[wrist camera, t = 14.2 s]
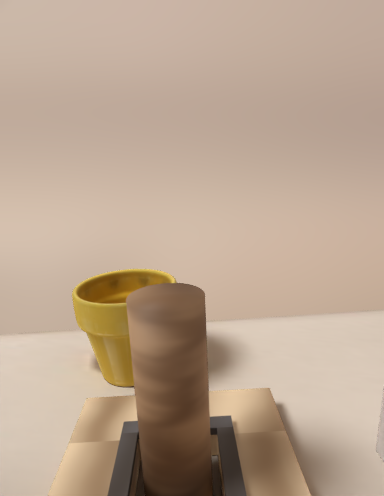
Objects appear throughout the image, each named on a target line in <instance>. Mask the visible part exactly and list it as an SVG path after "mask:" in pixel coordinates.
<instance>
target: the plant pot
mask: <svg viewBox="0 0 384 496" xmlns="http://www.w3.org/2000/svg"><path fill="white" fill-rule="evenodd" d="M162 283H176V280H175V278H174V277H173V276H171V275H170V274H168V273H166V272H162V271H158V270H151V269H128V270H119V271H113V272H108V273H104V274H100V275H97V276H94V277H91V278H89V279H87V280H85V281H83V282H81V283H80V284H78V285H77V286H76V287H75V288H74V290H73V293H72V296H73V305H74V310H75V316H76V320H77V323H78V326H79V327H80V328H81V329H82V330H83V331H85V332H86V333H87V335H88V338H89V341H90V343H91V346H92V348H93V351H94V353H95V356H96V359H97V361H98V364H99V367H100V369H101V372H102V374H103V377H104V378H105V380H106V381H107V382H109V383H110V384H113V385H116V386H122V387H130V386H134V377H133V367H132V357H131V346H130V336H129V326H128V315H127V305H126V298H127V296H128V295H129V294H130V293H132V292H133V291H135V290H137V289H140V288H143V287H146V286H150V285H155V284H162Z"/></svg>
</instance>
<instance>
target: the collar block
mask: <svg viewBox="0 0 384 496" xmlns="http://www.w3.org/2000/svg"><path fill="white" fill-rule="evenodd" d="M209 411H210V436H211V455H218V461H219V469H220V477H221V485H222V493H223V496H311V494H310V491H309V489H308V486H307V484H306V481H305V479H304V476H303V473H302V471H301V468H300V466H299V463H298V461H297V458H296V455H295V453H294V450H293V448H292V445H291V443H290V440H289V437H288V435H287V432H286V430H285V427H284V424H283V422H282V419H281V417H280V414H279V412H278V409H277V406H276V404H275V401H274V399H273V396H272V394H271V391H270V388H258V389H241V390H223V391H209ZM140 460H141V450H140V440H139V429H138V419H137V409H136V398H135V396H117V397H99V398H87V399H86V401H85V404H84V406H83V409H82V411H81V414H80V416H79V419H78V421H77V424H76V426H75V429H74V431H73V434H72V436H71V439H70V441H69V444H68V446H67V449H66V451H65V454H64V456H63V459H62V461H61V464H60V466H59V469H58V471H57V474H56V476H55V479H54V481H53V484H52V486H51V489H50V491H49V494H48V496H135V494H136V487H137V480H138V473H139V465H140Z"/></svg>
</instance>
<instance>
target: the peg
mask: <svg viewBox="0 0 384 496" xmlns="http://www.w3.org/2000/svg"><path fill="white" fill-rule="evenodd" d="M126 305H127V315H128V326H129V336H130V346H131V357H132V367H133V377H134V388H135V398H136V409H137V419H138V429H139V440H140V450H141V460H142V471H143V481H144V492H145V496H213V485H212V460H211V436H210V411H209V386H208V362H207V337H206V313H205V293H204V292H203V290H201V289H200V288H198V287H196V286H193V285H189V284H183V283H162V284H155V285H150V286H146V287H143V288H140V289H137V290H135V291H133V292H132V293H130V294H129V295H128V296H127V298H126Z"/></svg>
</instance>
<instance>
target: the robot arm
mask: <svg viewBox="0 0 384 496" xmlns="http://www.w3.org/2000/svg"><path fill="white" fill-rule="evenodd" d="M376 451H377V453H378V454H379V456H380V457H381V459H382V460H383V462H384V389H383V397H382V405H381V413H380V421H379V429H378V437H377V445H376Z"/></svg>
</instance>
